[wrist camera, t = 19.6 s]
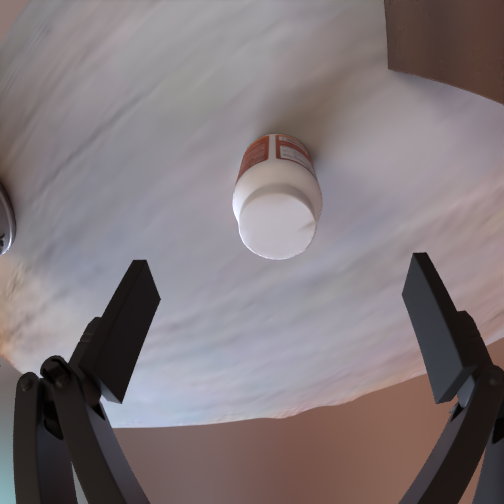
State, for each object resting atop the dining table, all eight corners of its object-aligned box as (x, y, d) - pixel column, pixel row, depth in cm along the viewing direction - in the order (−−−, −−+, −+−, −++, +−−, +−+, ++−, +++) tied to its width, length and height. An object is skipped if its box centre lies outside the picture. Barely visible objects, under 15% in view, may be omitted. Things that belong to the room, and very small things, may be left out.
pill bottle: (249, 198, 30) (236, 274, 21) (236, 137, 26) (213, 189, 17) (314, 191, 29) (330, 264, 20) (307, 128, 25) (325, 175, 16)
